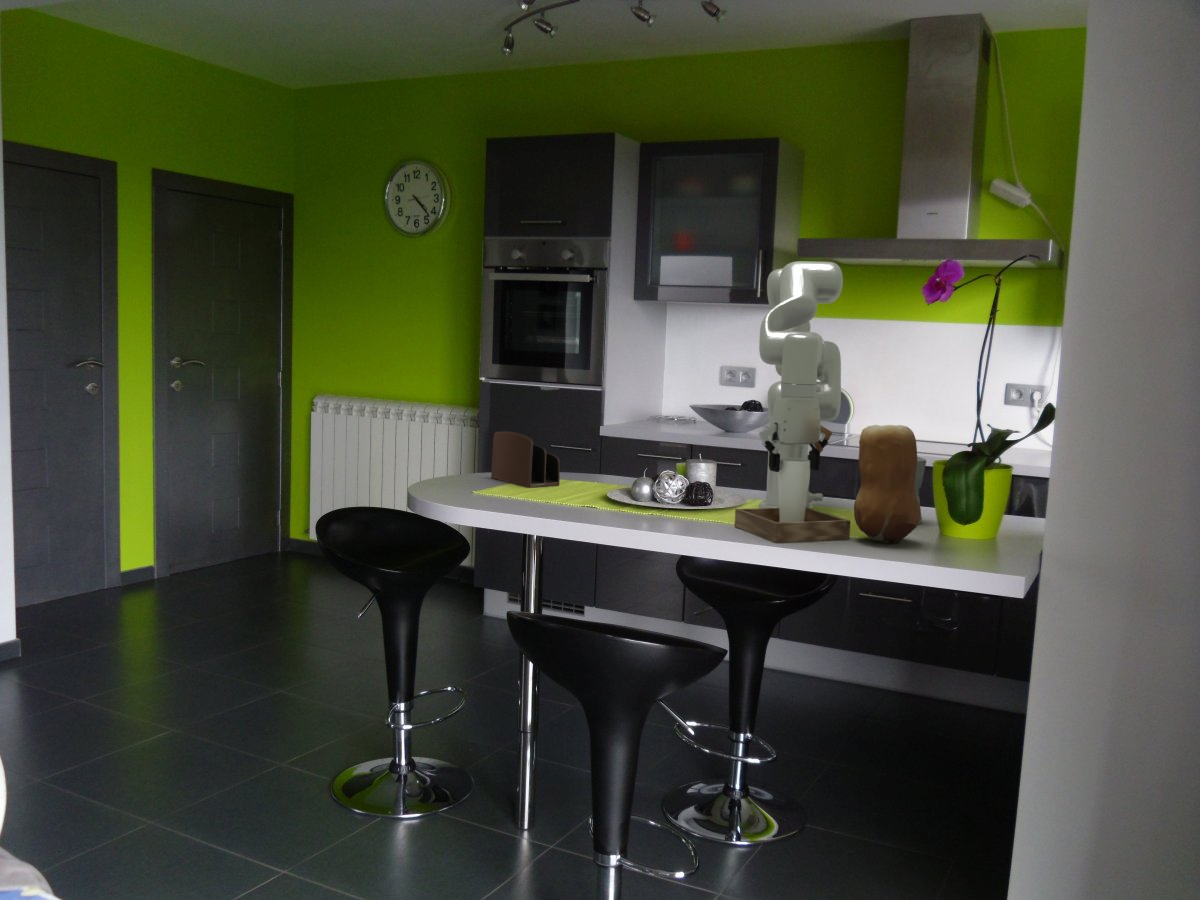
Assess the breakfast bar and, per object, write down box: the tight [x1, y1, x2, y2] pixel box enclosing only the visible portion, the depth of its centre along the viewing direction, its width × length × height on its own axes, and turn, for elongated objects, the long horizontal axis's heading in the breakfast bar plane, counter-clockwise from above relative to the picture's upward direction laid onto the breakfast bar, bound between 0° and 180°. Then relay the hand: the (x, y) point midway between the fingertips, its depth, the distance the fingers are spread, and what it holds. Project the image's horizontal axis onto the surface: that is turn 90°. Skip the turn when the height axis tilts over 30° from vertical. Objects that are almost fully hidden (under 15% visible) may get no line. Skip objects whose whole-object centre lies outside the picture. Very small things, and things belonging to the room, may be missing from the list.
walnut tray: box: [734, 507, 852, 544], centre depth 236 cm, size 18×18×4 cm
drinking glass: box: [778, 458, 811, 523], centre depth 235 cm, size 7×7×15 cm
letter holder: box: [490, 430, 561, 489], centre depth 298 cm, size 10×20×14 cm, turn 36°
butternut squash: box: [853, 424, 922, 545], centre depth 228 cm, size 14×13×25 cm
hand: (793, 470), depth 235 cm, fingers open, 9 cm apart
